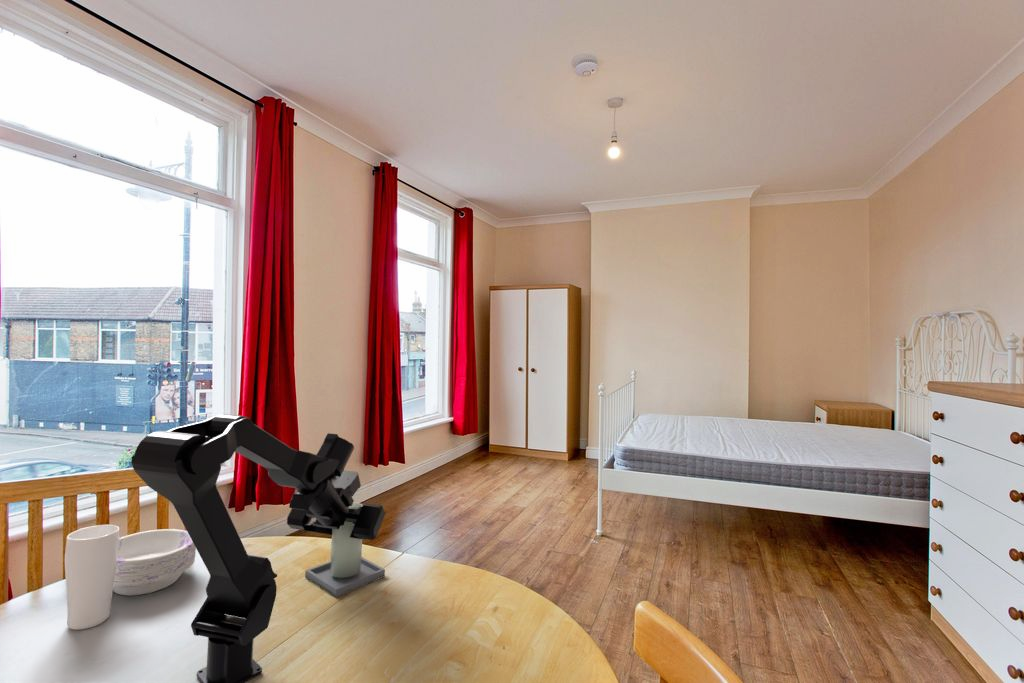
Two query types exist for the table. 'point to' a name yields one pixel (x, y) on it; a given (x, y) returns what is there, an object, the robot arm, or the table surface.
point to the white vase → (90, 574)
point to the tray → (344, 585)
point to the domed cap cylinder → (345, 550)
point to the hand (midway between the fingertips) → (350, 535)
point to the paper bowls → (152, 560)
